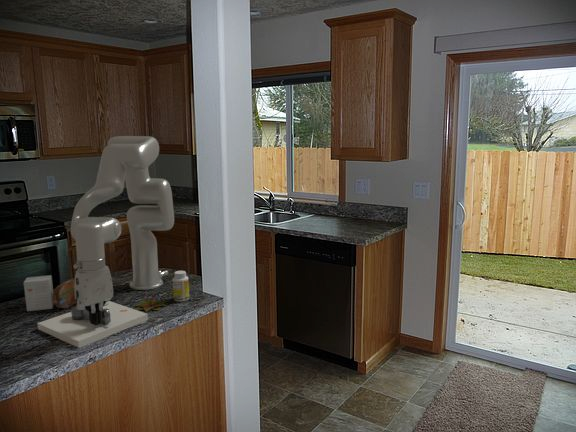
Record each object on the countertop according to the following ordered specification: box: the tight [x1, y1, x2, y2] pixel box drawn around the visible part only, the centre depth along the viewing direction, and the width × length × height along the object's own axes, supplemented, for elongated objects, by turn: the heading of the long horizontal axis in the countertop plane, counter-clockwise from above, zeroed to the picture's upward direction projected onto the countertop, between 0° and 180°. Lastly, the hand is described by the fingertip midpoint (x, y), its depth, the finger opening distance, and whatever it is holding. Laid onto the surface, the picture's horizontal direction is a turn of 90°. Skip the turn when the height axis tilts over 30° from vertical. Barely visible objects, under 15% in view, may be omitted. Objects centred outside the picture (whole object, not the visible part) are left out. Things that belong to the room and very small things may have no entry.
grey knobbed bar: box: [70, 305, 111, 324], centre depth 146 cm, size 15×5×4 cm, turn 64°
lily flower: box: [134, 293, 167, 313], centre depth 163 cm, size 12×12×5 cm
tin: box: [53, 277, 77, 309], centre depth 166 cm, size 15×3×8 cm, turn 168°
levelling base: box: [37, 300, 149, 349], centre depth 148 cm, size 24×22×4 cm
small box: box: [23, 274, 55, 312], centre depth 162 cm, size 8×6×10 cm
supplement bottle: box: [172, 270, 190, 302], centre depth 169 cm, size 6×6×10 cm
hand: (95, 323), depth 141 cm, fingers closed
